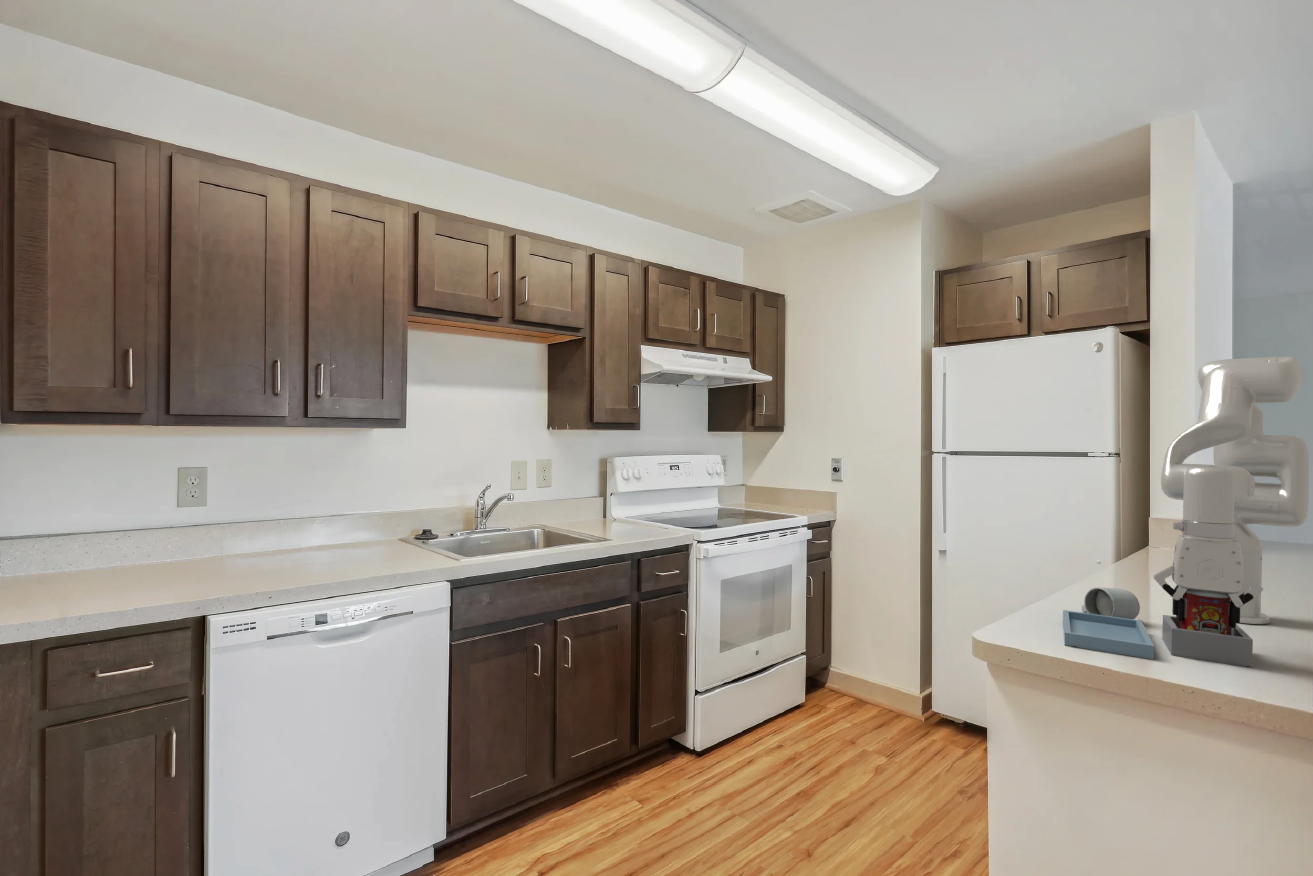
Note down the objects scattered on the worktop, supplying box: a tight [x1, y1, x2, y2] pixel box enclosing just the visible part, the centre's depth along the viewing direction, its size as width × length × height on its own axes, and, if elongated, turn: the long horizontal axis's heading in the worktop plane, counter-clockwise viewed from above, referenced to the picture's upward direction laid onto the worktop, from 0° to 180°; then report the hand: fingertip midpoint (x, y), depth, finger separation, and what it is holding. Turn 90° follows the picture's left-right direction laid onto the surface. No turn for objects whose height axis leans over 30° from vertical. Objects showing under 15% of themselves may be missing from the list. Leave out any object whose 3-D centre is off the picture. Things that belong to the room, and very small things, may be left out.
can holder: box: [1161, 614, 1254, 668], centre depth 125 cm, size 12×12×5 cm
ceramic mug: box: [1081, 586, 1141, 620], centre depth 147 cm, size 11×8×8 cm
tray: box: [1062, 609, 1155, 660], centre depth 132 cm, size 20×14×2 cm
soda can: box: [1181, 589, 1230, 635], centre depth 125 cm, size 7×7×12 cm
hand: (1205, 622), depth 125 cm, fingers closed on soda can, 7 cm apart
